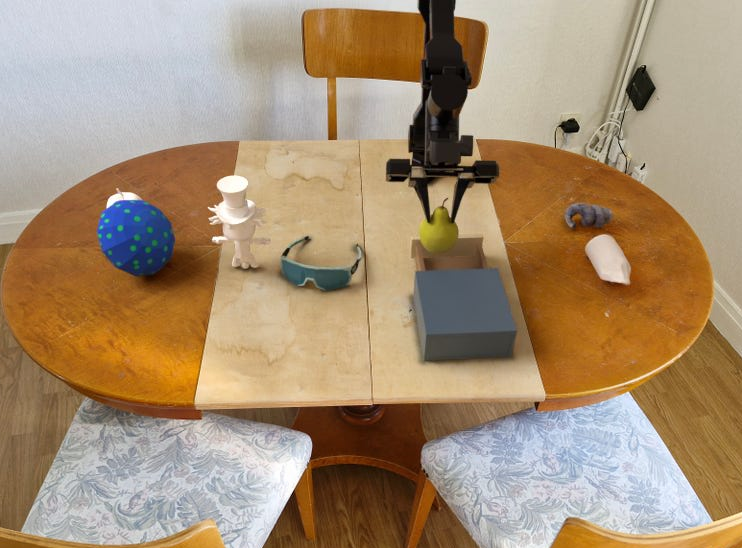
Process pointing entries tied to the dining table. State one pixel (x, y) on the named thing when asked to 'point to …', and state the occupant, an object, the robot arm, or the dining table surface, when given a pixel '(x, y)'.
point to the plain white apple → (122, 197)
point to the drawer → (451, 254)
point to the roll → (608, 259)
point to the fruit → (438, 231)
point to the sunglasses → (317, 271)
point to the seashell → (588, 215)
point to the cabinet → (463, 314)
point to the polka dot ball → (136, 237)
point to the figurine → (238, 219)
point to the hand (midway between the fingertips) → (440, 222)
